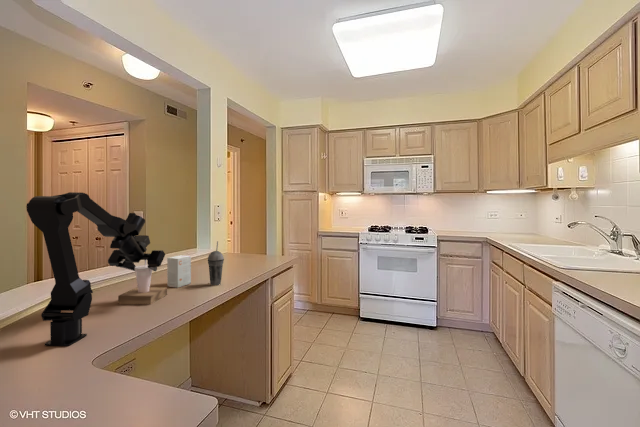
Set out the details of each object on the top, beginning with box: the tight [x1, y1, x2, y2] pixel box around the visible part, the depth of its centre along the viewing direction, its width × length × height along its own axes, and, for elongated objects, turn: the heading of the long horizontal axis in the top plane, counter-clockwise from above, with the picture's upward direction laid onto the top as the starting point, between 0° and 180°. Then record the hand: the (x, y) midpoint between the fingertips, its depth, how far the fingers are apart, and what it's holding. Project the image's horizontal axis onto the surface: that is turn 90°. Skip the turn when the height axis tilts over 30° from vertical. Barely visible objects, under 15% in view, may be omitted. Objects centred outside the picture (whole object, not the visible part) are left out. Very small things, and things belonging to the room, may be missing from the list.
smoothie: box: [134, 260, 153, 293], centre depth 117 cm, size 6×6×14 cm
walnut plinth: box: [117, 286, 168, 305], centre depth 118 cm, size 12×12×3 cm
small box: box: [166, 254, 192, 288], centre depth 138 cm, size 8×6×13 cm
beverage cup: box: [207, 241, 225, 286], centre depth 140 cm, size 7×7×20 cm
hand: (146, 270), depth 119 cm, fingers open, 8 cm apart
